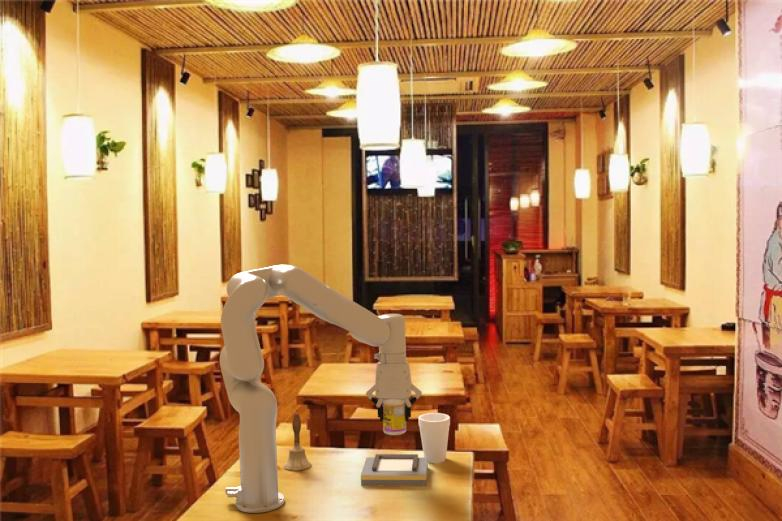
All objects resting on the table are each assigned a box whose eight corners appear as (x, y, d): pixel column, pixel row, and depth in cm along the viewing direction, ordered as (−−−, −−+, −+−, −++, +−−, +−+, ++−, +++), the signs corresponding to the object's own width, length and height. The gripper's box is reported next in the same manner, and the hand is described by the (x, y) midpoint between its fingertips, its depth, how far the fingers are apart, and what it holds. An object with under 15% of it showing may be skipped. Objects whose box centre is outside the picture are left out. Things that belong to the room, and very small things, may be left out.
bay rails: (372, 470, 203) (371, 467, 203) (375, 457, 213) (375, 454, 213) (416, 471, 202) (416, 467, 202) (418, 457, 212) (417, 454, 212)
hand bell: (296, 459, 222) (295, 408, 221) (317, 464, 218) (315, 412, 217) (277, 467, 216) (275, 415, 215) (298, 473, 211) (296, 419, 210)
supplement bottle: (379, 430, 208) (378, 386, 207) (400, 427, 211) (399, 383, 210) (388, 437, 202) (387, 391, 201) (410, 433, 205) (409, 388, 204)
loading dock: (361, 485, 200) (360, 474, 200) (366, 467, 214) (366, 457, 214) (426, 486, 198) (426, 474, 198) (427, 467, 213) (427, 457, 212)
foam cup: (451, 454, 223) (450, 413, 223) (450, 464, 214) (449, 421, 213) (420, 454, 224) (419, 412, 223) (418, 464, 215) (417, 421, 214)
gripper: (360, 361, 202) (362, 423, 203) (422, 360, 200) (424, 423, 202) (363, 355, 209) (365, 416, 211) (423, 354, 208) (425, 415, 209)
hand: (394, 419), depth 206 cm, fingers closed on supplement bottle, 6 cm apart
